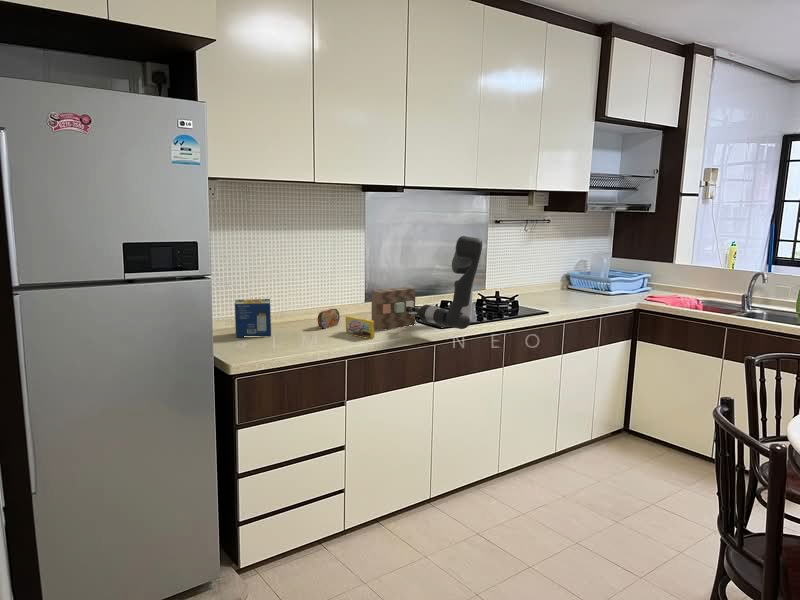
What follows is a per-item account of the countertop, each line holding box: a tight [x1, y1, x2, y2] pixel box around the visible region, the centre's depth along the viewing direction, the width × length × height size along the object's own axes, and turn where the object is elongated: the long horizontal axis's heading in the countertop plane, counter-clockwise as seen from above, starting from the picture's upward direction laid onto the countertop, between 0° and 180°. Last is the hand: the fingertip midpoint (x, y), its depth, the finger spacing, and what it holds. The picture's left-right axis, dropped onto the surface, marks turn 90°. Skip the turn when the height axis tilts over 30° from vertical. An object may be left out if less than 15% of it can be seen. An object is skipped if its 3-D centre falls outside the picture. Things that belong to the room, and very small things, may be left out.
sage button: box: [394, 302, 404, 313], centre depth 279 cm, size 4×3×4 cm
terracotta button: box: [382, 303, 391, 314], centre depth 276 cm, size 4×3×4 cm
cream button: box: [406, 300, 414, 307], centre depth 285 cm, size 4×3×4 cm
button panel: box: [371, 286, 416, 331], centre depth 283 cm, size 21×7×18 cm, turn 128°
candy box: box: [345, 315, 375, 340], centre depth 263 cm, size 16×2×8 cm, turn 50°
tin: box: [317, 308, 341, 330], centre depth 282 cm, size 15×3×8 cm, turn 151°
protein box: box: [234, 298, 272, 338], centre depth 263 cm, size 10×15×16 cm
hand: (407, 308), depth 276 cm, fingers closed
